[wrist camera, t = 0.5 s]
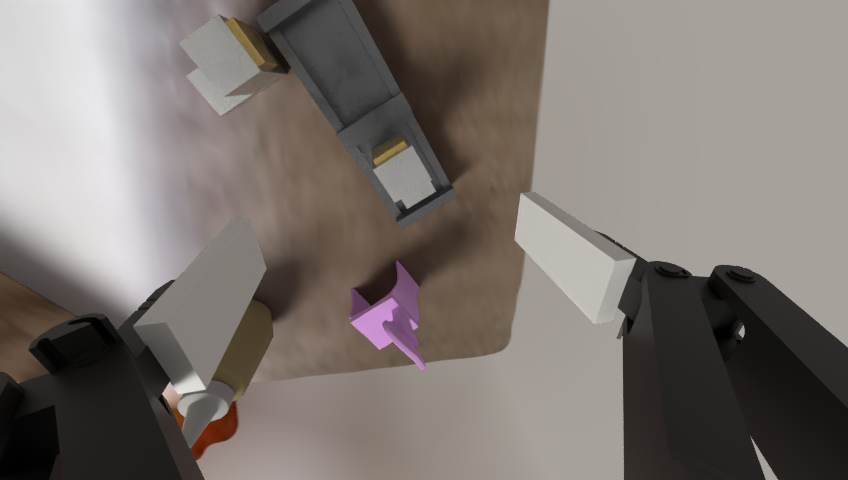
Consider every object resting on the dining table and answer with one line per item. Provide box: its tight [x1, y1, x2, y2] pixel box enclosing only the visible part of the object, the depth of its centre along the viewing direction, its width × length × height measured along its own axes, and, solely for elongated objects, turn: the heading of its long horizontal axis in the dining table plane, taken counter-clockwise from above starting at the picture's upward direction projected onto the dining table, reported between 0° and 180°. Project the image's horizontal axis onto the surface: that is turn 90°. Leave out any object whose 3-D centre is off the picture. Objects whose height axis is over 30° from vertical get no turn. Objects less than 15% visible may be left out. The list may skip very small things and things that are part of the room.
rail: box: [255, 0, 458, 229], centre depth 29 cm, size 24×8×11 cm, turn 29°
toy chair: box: [349, 260, 425, 371], centre depth 39 cm, size 8×9×15 cm
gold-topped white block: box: [179, 14, 287, 116], centre depth 26 cm, size 8×4×9 cm, turn 119°
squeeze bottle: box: [177, 299, 273, 448], centre depth 35 cm, size 8×8×18 cm
